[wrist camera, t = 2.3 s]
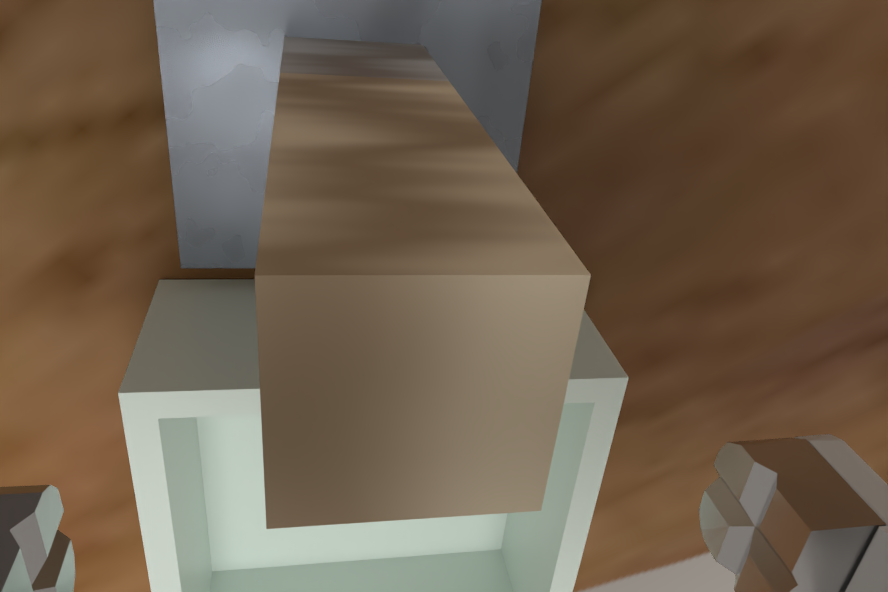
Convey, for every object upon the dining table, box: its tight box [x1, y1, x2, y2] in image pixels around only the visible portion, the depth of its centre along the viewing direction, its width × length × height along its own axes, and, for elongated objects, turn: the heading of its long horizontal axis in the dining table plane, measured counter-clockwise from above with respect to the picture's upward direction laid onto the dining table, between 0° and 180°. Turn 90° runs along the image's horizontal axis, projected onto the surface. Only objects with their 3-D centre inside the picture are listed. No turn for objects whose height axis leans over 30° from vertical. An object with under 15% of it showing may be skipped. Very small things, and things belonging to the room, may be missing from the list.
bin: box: [118, 279, 629, 592], centre depth 29 cm, size 16×16×7 cm
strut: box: [255, 36, 591, 529], centre depth 17 cm, size 4×4×16 cm
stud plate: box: [153, 0, 542, 268], centre depth 23 cm, size 12×12×5 cm
